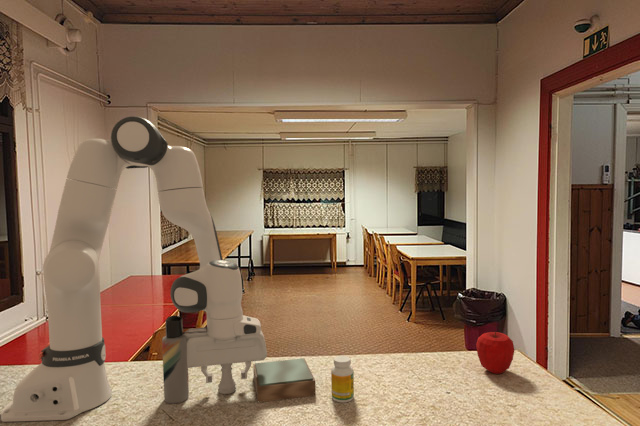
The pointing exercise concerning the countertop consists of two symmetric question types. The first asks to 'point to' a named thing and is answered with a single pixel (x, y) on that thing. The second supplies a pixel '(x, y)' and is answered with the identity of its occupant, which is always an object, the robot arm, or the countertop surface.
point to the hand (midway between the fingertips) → (226, 380)
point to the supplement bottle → (342, 380)
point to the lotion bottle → (175, 361)
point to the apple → (495, 351)
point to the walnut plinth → (283, 380)
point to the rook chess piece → (226, 380)
